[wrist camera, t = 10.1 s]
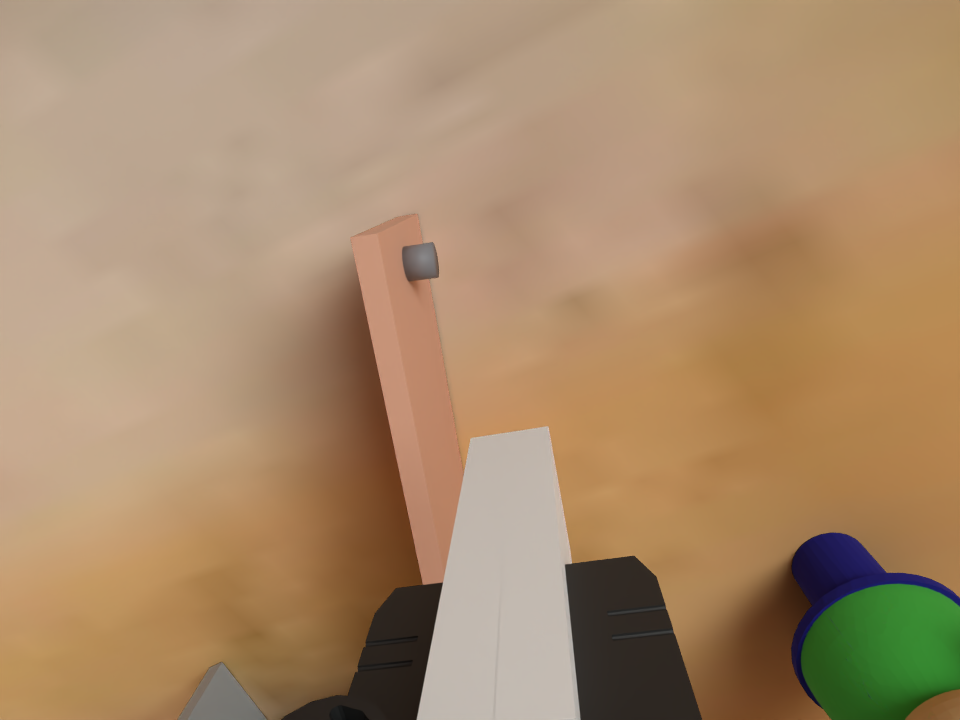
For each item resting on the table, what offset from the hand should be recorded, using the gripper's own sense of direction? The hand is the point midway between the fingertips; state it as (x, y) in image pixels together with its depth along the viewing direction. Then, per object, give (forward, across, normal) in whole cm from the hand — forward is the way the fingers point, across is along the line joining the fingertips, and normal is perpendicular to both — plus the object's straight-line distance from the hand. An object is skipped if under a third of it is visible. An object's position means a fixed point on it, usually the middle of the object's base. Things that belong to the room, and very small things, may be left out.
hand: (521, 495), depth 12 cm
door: (+14, -4, -3) cm, 15 cm away
